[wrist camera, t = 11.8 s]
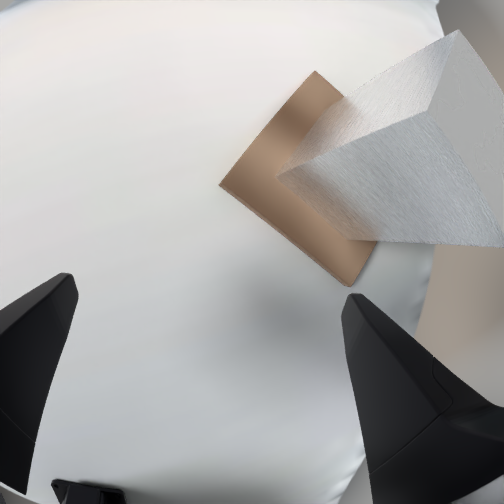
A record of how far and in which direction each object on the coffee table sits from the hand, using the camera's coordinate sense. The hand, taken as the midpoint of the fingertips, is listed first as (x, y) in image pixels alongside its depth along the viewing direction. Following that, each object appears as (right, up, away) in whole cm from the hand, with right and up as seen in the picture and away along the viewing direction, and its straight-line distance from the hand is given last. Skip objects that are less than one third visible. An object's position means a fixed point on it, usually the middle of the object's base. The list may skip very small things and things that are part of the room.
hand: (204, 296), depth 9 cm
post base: (+7, +7, +11) cm, 15 cm away
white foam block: (+7, +7, +10) cm, 14 cm away
